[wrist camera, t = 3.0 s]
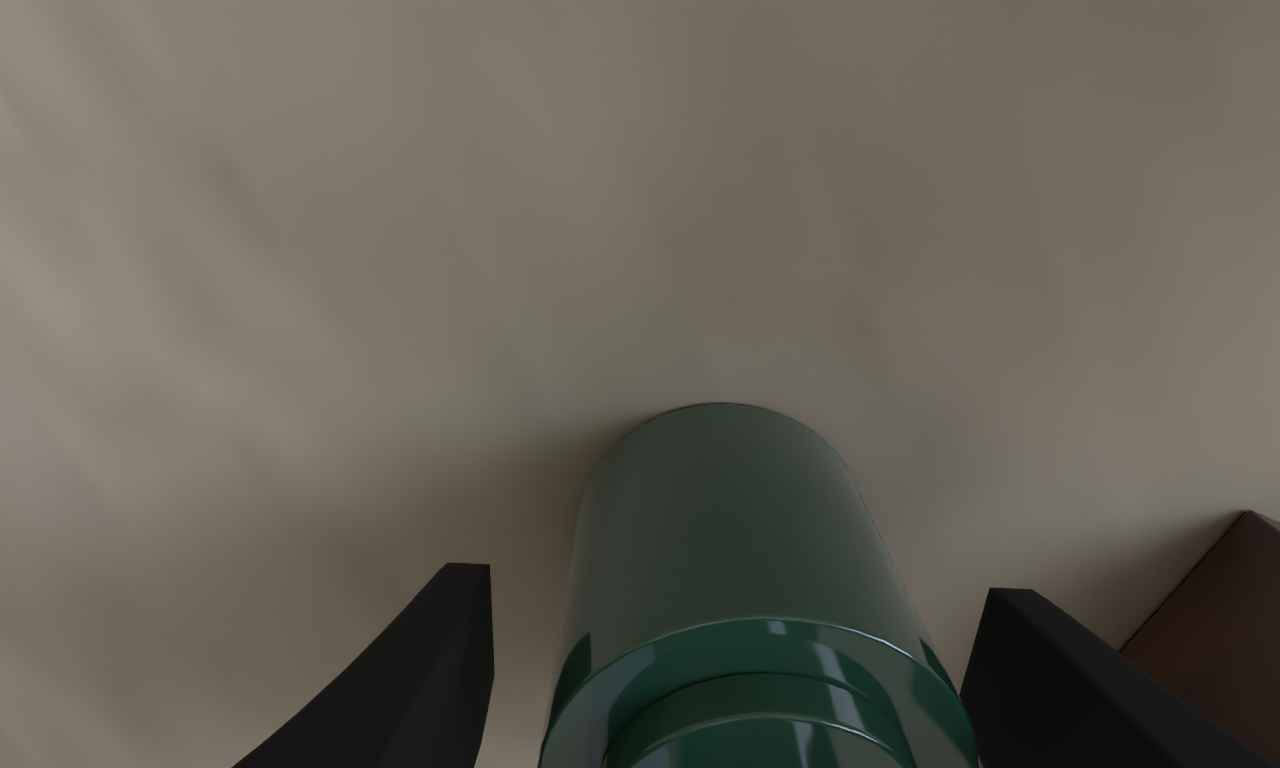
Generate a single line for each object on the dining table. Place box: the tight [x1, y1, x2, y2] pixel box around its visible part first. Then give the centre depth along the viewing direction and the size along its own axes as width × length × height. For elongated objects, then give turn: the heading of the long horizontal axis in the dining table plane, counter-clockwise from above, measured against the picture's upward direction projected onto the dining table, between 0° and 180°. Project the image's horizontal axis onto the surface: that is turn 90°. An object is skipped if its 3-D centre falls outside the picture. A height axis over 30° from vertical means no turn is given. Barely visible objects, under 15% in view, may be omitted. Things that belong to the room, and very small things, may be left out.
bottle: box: [537, 403, 978, 768], centre depth 10 cm, size 5×5×8 cm
